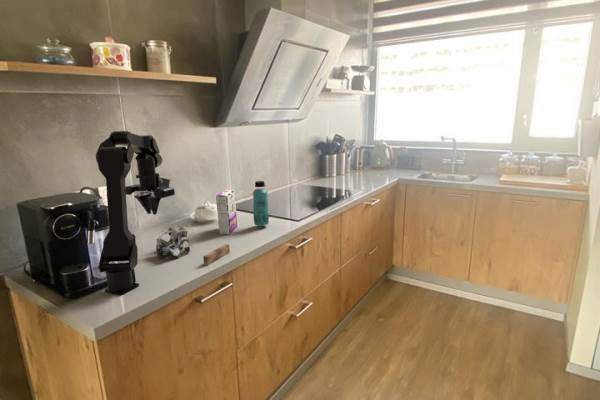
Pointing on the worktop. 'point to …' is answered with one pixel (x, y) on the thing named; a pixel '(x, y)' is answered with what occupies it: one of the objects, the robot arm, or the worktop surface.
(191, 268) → the worktop surface
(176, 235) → the foil
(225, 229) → the candy bar box
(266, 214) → the beverage bottle
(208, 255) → the bar
